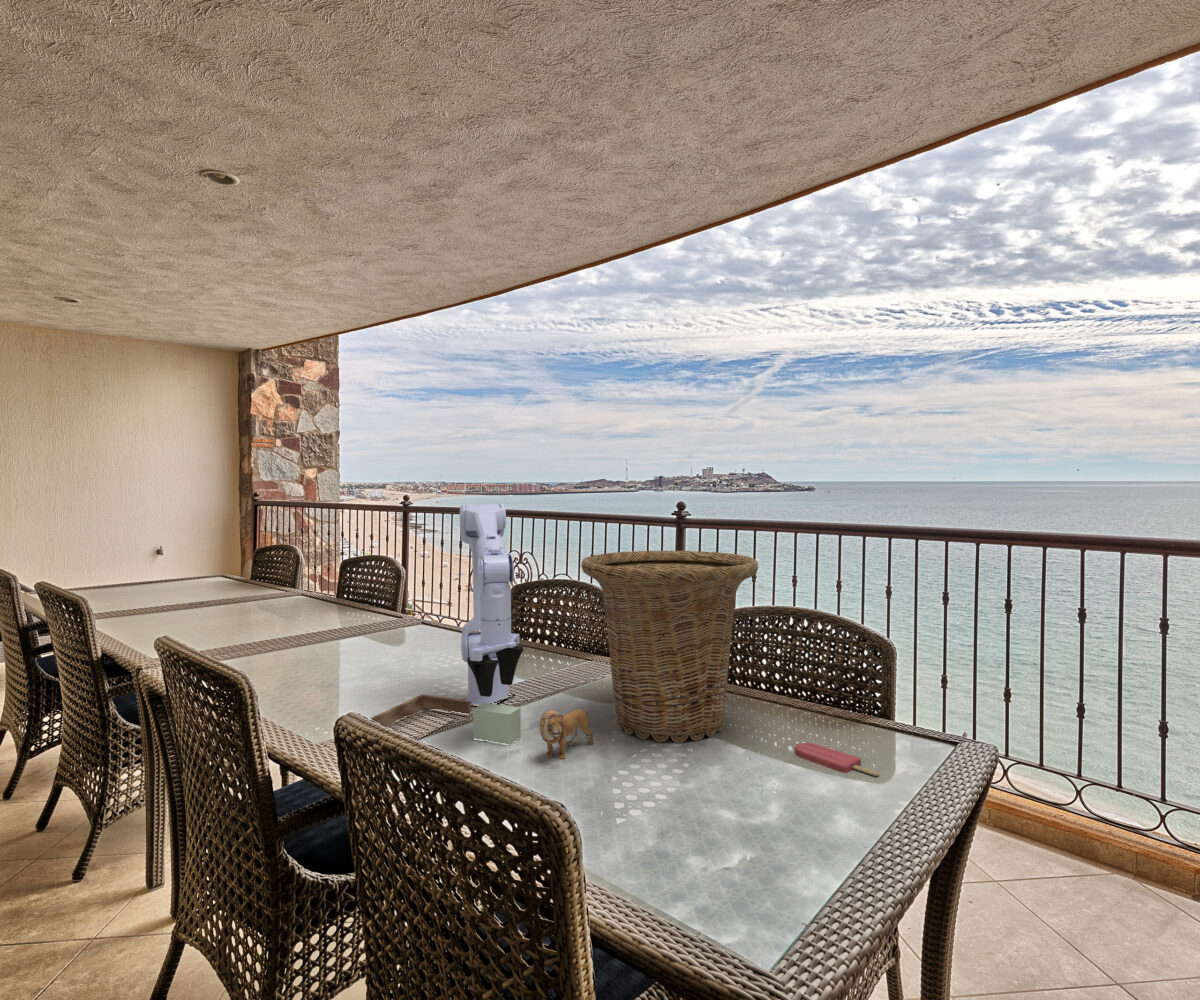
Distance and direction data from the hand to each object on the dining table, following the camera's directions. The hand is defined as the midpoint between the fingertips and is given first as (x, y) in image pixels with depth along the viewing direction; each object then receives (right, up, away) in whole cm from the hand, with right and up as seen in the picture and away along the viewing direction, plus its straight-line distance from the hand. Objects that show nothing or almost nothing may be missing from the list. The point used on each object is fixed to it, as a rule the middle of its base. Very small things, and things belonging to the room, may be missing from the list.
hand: (496, 689), depth 125 cm
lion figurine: (+14, -10, -6) cm, 18 cm away
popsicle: (+60, -10, -11) cm, 62 cm away
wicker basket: (+34, -9, +8) cm, 36 cm away
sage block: (0, -10, 0) cm, 10 cm away
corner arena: (-16, -9, +9) cm, 21 cm away
